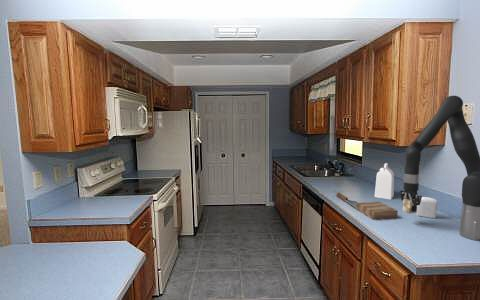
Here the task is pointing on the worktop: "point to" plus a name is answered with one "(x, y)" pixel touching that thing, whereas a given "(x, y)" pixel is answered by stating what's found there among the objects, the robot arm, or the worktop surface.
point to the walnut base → (377, 210)
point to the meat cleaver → (347, 200)
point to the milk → (384, 183)
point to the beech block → (408, 206)
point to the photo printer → (427, 207)
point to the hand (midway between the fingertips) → (409, 210)
